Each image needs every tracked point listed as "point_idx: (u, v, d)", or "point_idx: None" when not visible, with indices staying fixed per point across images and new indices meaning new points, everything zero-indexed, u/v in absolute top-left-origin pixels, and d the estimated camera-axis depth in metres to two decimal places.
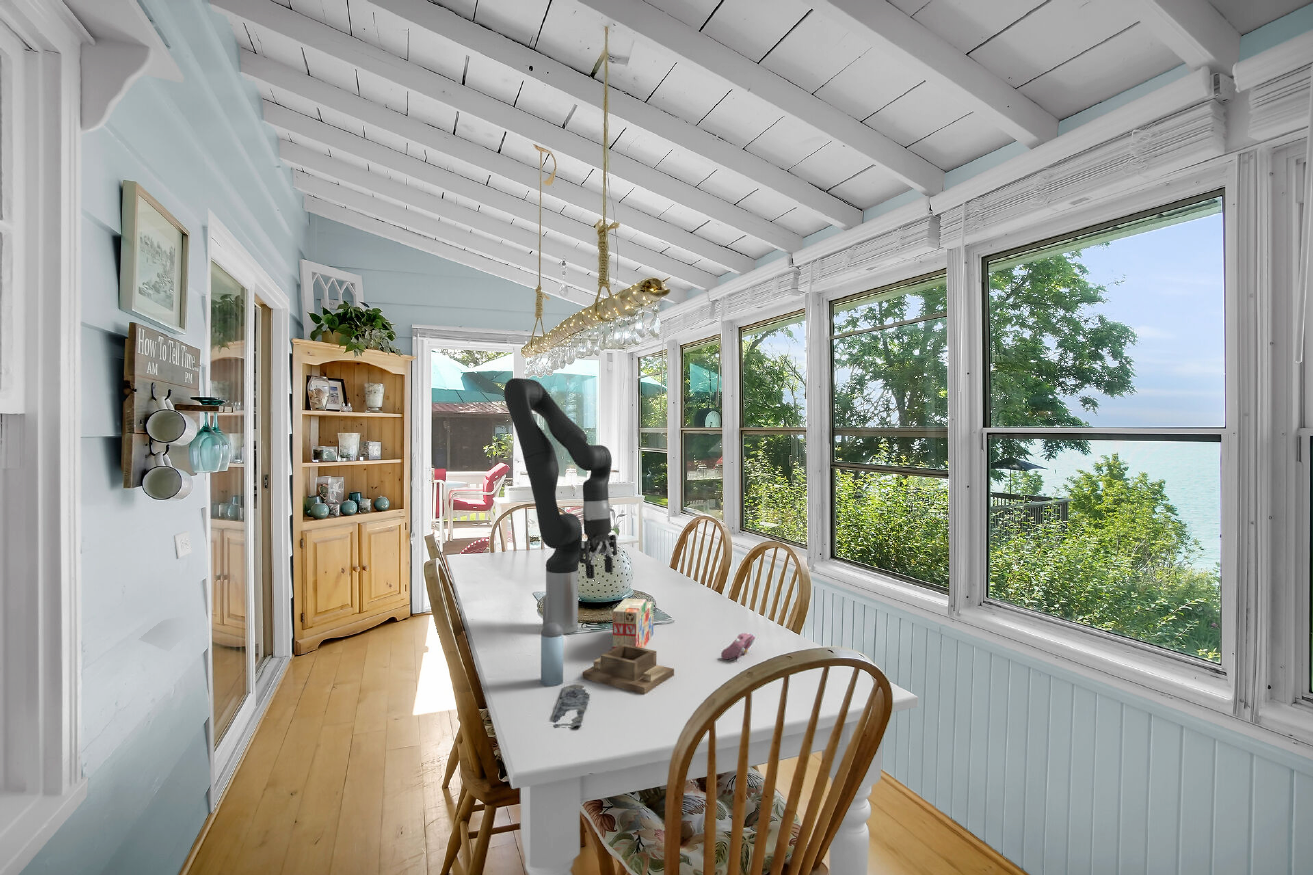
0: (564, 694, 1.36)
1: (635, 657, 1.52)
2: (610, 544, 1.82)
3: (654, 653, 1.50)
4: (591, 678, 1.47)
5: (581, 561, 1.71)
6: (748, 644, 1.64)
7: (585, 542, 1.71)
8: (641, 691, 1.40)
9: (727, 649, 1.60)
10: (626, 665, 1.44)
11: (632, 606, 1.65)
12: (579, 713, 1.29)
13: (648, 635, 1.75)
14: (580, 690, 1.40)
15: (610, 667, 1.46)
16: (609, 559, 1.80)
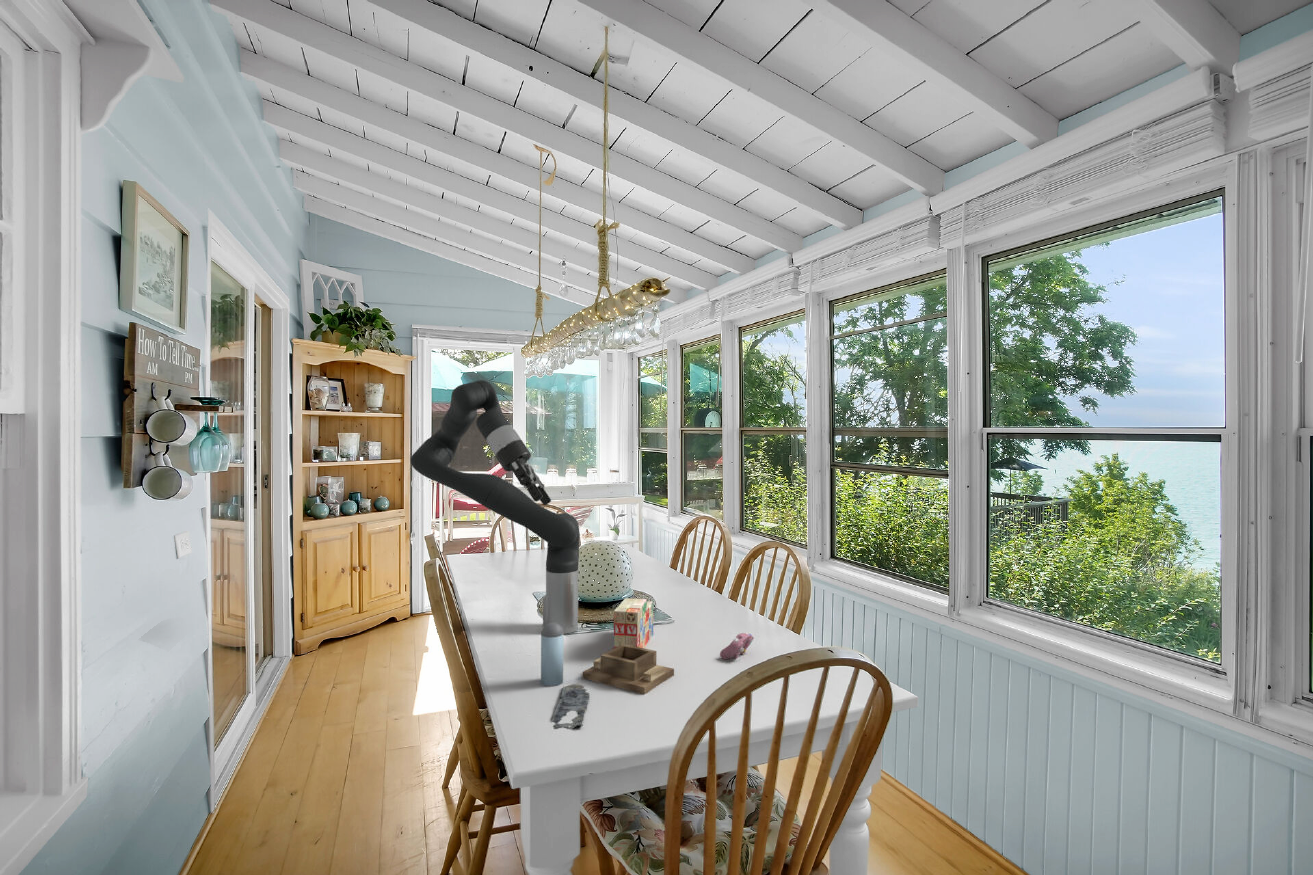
0: (564, 694, 1.36)
1: (635, 657, 1.52)
2: None
3: (654, 653, 1.50)
4: (591, 678, 1.47)
5: (522, 481, 1.47)
6: (747, 644, 1.64)
7: (516, 461, 1.49)
8: (641, 691, 1.40)
9: (726, 649, 1.61)
10: (626, 665, 1.44)
11: (633, 606, 1.65)
12: (580, 713, 1.29)
13: (648, 635, 1.75)
14: (580, 690, 1.40)
15: (610, 667, 1.46)
16: (541, 489, 1.58)
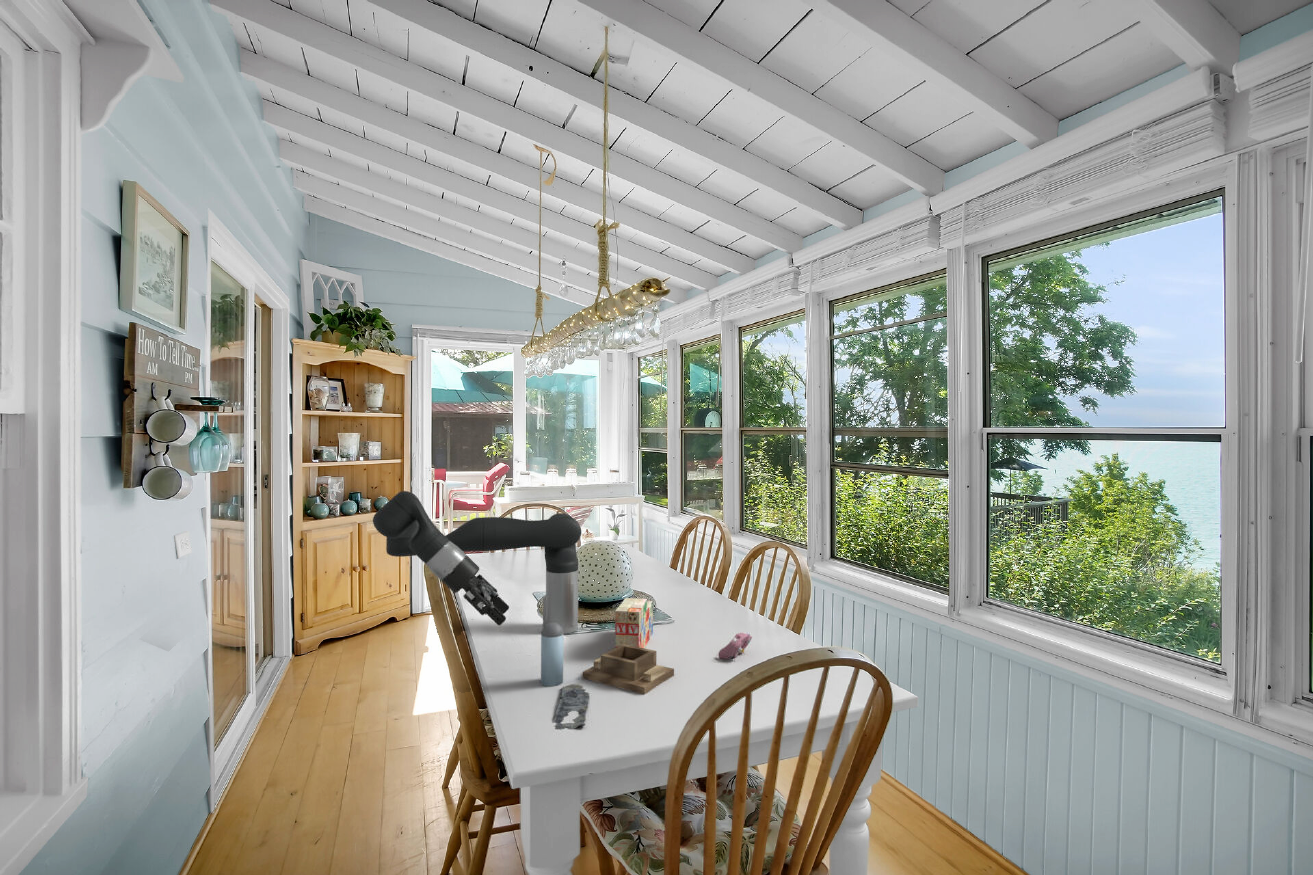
0: (564, 694, 1.36)
1: (635, 657, 1.52)
2: None
3: (654, 653, 1.50)
4: (591, 678, 1.47)
5: (482, 612, 1.36)
6: (745, 644, 1.64)
7: (470, 590, 1.36)
8: (641, 691, 1.40)
9: (724, 649, 1.61)
10: (626, 665, 1.44)
11: (634, 606, 1.65)
12: (581, 712, 1.29)
13: (648, 634, 1.75)
14: (579, 690, 1.40)
15: (610, 667, 1.46)
16: (496, 598, 1.47)
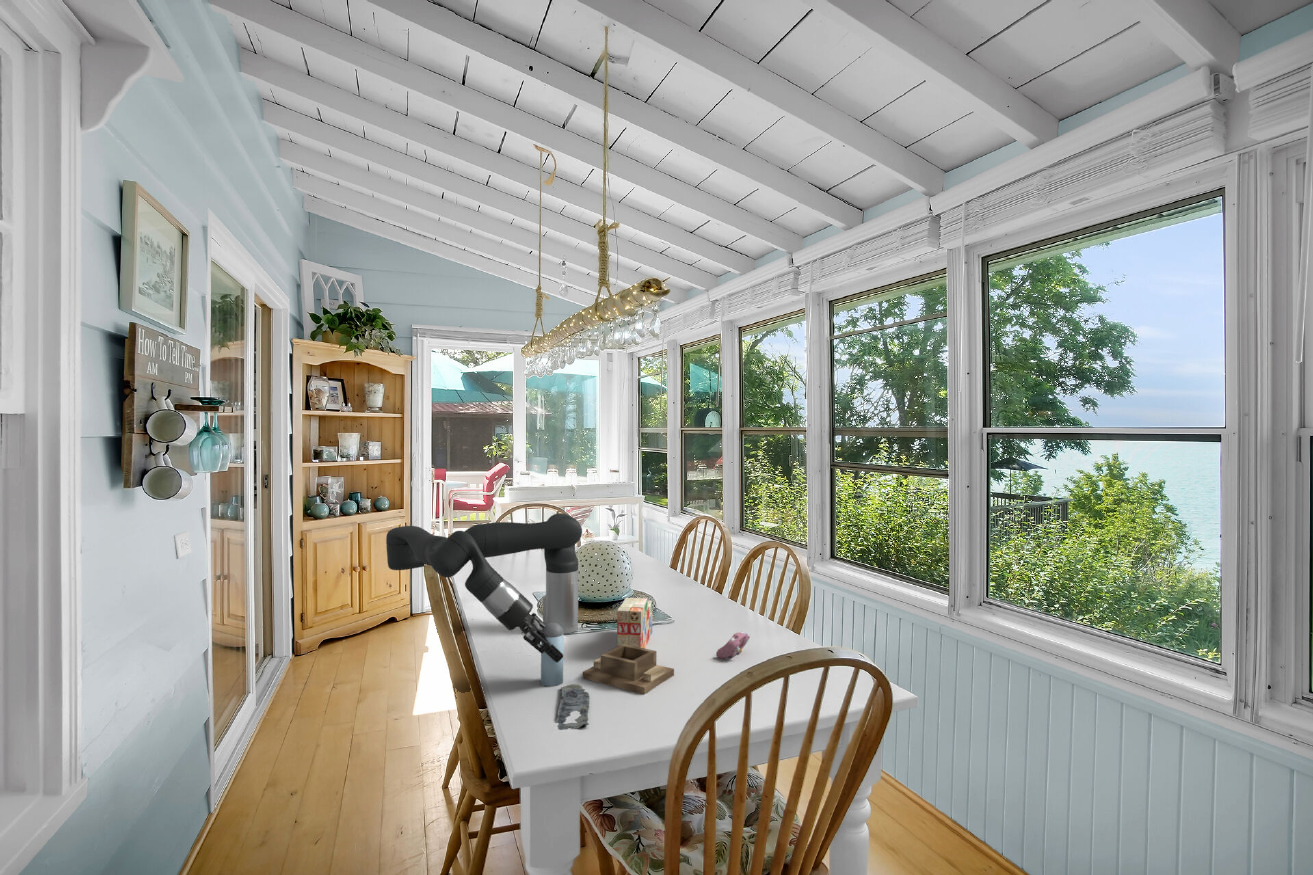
0: (564, 694, 1.36)
1: (635, 657, 1.52)
2: None
3: (654, 653, 1.50)
4: (591, 678, 1.47)
5: (542, 650, 1.40)
6: (743, 643, 1.64)
7: (530, 632, 1.38)
8: (641, 691, 1.40)
9: (722, 648, 1.61)
10: (626, 665, 1.44)
11: (635, 605, 1.66)
12: (583, 712, 1.29)
13: (648, 634, 1.76)
14: (578, 689, 1.40)
15: (610, 667, 1.46)
16: None
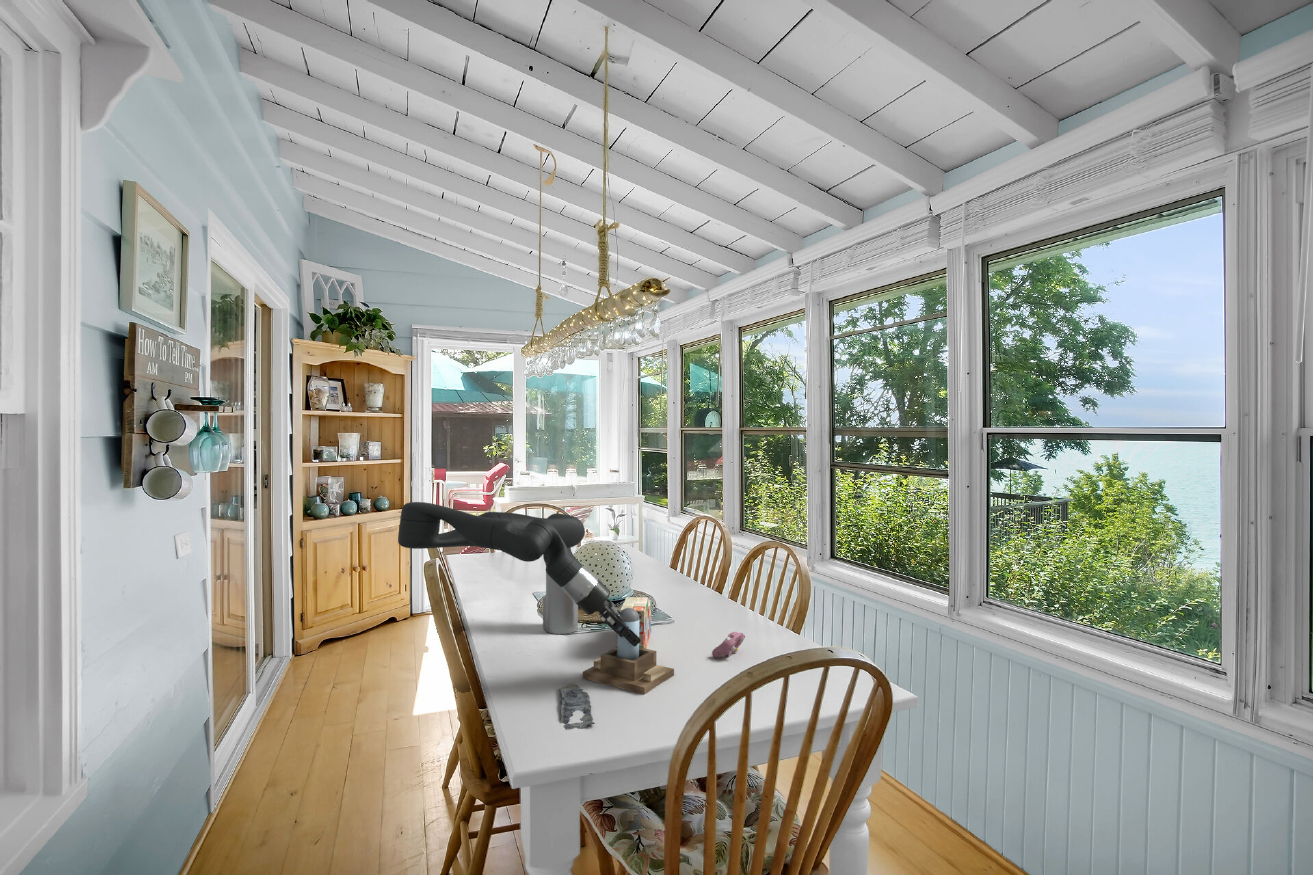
0: (564, 694, 1.36)
1: None
2: None
3: (654, 653, 1.50)
4: (591, 678, 1.47)
5: (622, 634, 1.43)
6: (738, 643, 1.65)
7: (611, 616, 1.42)
8: (641, 691, 1.40)
9: (718, 648, 1.61)
10: (626, 665, 1.44)
11: (637, 604, 1.66)
12: (586, 712, 1.29)
13: (648, 633, 1.77)
14: (577, 689, 1.40)
15: (610, 667, 1.46)
16: None
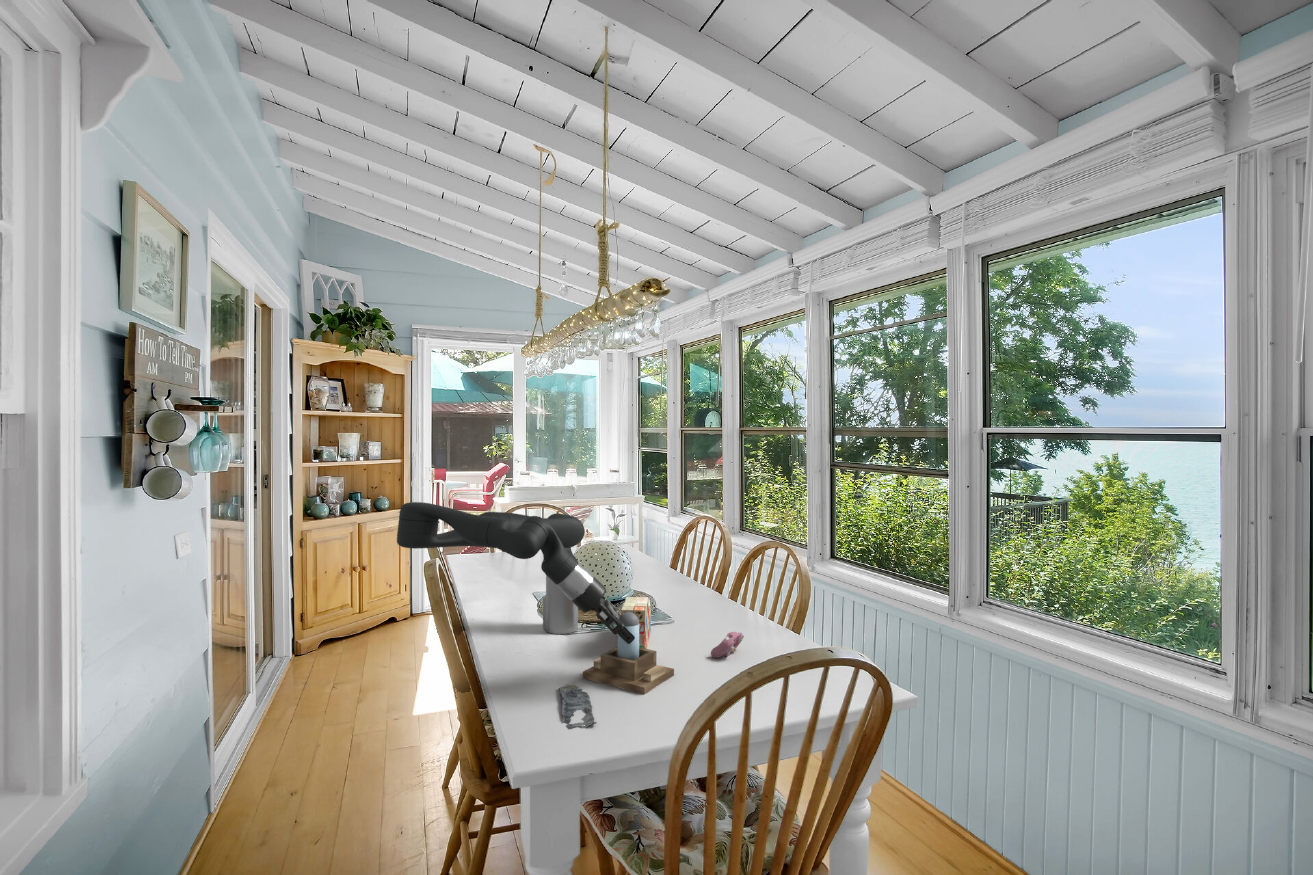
0: (564, 695, 1.36)
1: None
2: None
3: (654, 653, 1.50)
4: (591, 678, 1.47)
5: (615, 631, 1.41)
6: (737, 642, 1.65)
7: (604, 610, 1.41)
8: (641, 691, 1.40)
9: (716, 648, 1.61)
10: (626, 665, 1.44)
11: (638, 604, 1.67)
12: (587, 711, 1.30)
13: (648, 632, 1.77)
14: (577, 689, 1.40)
15: (610, 667, 1.46)
16: None
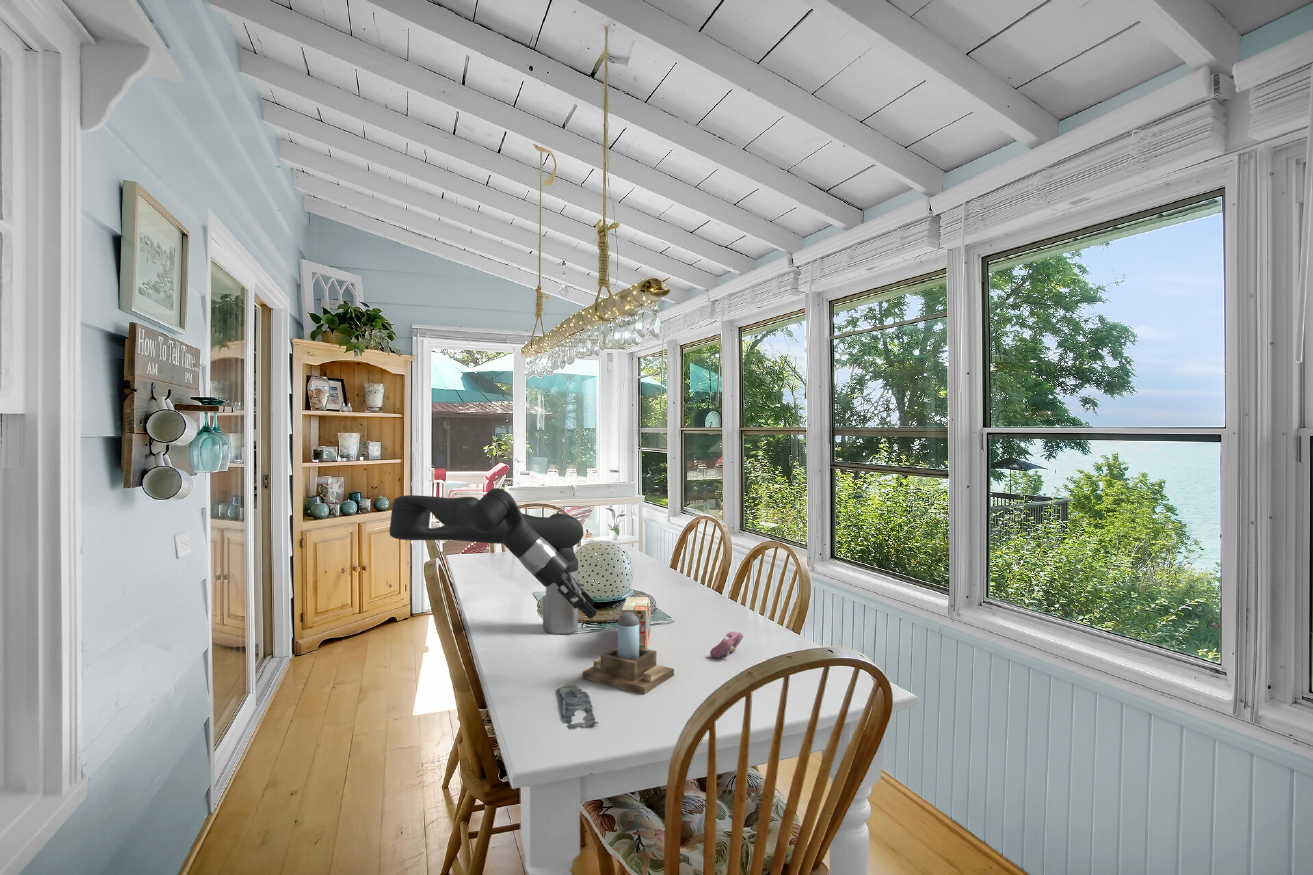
0: (564, 695, 1.36)
1: None
2: None
3: (654, 653, 1.50)
4: (591, 678, 1.47)
5: (576, 605, 1.39)
6: (736, 642, 1.65)
7: (564, 584, 1.39)
8: (641, 691, 1.40)
9: (716, 647, 1.61)
10: (626, 665, 1.44)
11: (639, 604, 1.67)
12: (588, 711, 1.30)
13: (648, 632, 1.77)
14: (576, 689, 1.40)
15: (610, 667, 1.46)
16: (582, 592, 1.50)
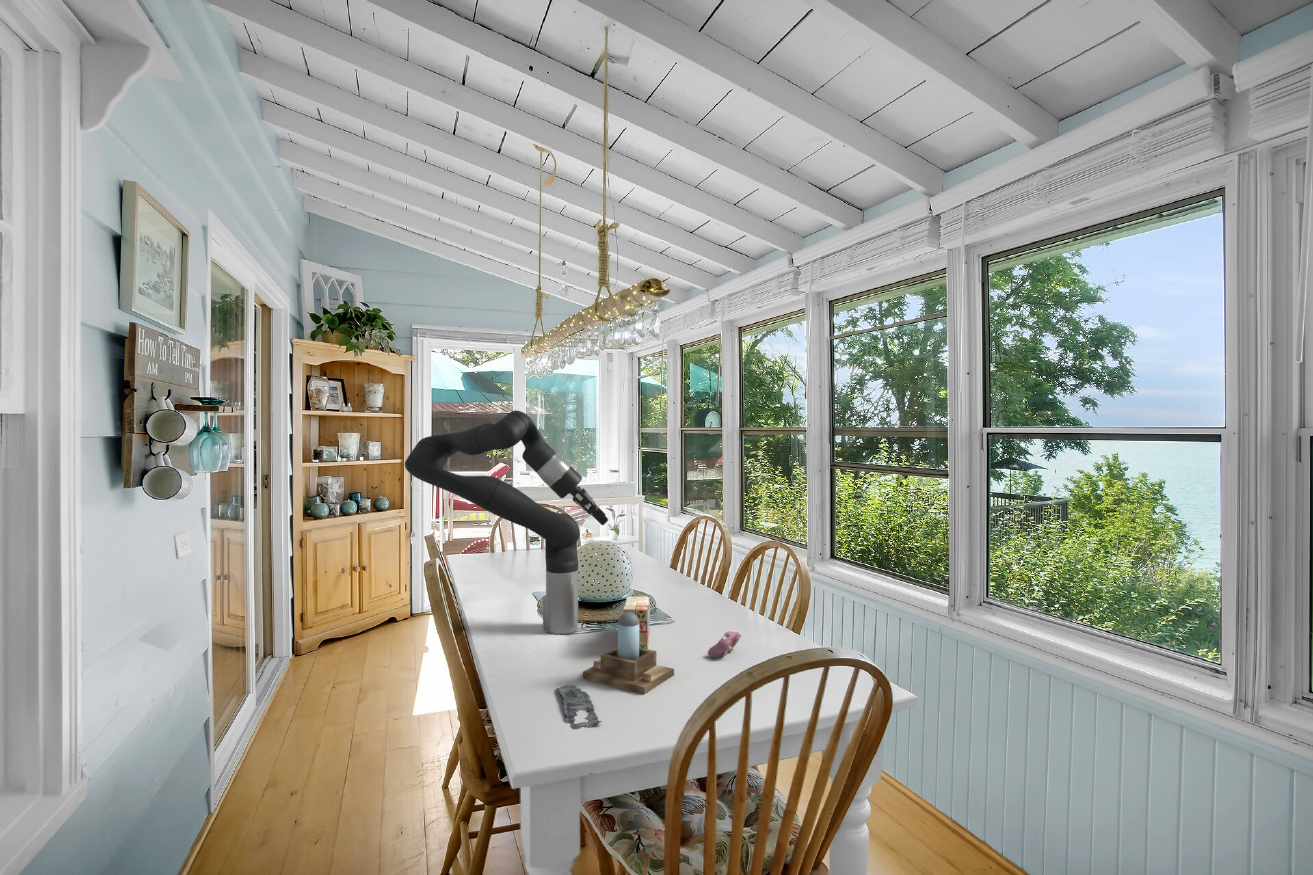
0: (564, 695, 1.36)
1: None
2: None
3: (654, 653, 1.50)
4: (591, 678, 1.47)
5: (590, 511, 1.55)
6: (734, 642, 1.65)
7: (579, 492, 1.55)
8: (641, 691, 1.40)
9: (714, 647, 1.62)
10: (626, 665, 1.44)
11: (640, 603, 1.67)
12: (590, 711, 1.30)
13: None
14: (575, 689, 1.40)
15: (610, 667, 1.46)
16: None
